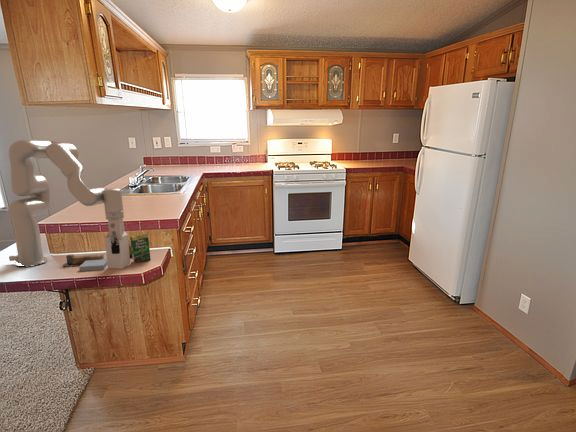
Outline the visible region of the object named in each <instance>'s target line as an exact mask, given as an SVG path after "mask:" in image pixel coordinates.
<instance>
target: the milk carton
mask: <svg viewBox="0 0 576 432" xmlns="http://www.w3.org/2000/svg"><path fill="white" fill-rule="evenodd" d="M115 235H116V234H115ZM114 239H117V237H115V238H114ZM128 240H129V234H128V233H127V232H126V231H125V232H124V234H123V236H122V240H120V239H118V245H119V250H120V253H119V254H112V250H111V240H110V237H109V233H108V234H107V235H106V236H105V237H104V244H105V253H106V259H107V269H116V270H117V269H120V270H121V269H124V268H126V267H127V266H129V265H130V264H131V258H130V255H129V243H128Z"/></svg>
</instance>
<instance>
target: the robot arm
mask: <svg viewBox="0 0 576 432" xmlns="http://www.w3.org/2000/svg"><path fill="white" fill-rule="evenodd" d="M79 155H80V153H79V150H78V148H77V146H75V145H74V144H72V143H69V142H61V141H54V140H49V139H47V140H45V139H19V140H16V141H14V142H13V143H11V145H10V146H9V148H8V159H9V163H10V185H11V187H10V188H11V191H12V192H13V194H14V195H16V196H17V197H23V198H18V199H15V200H13V201H12V202H10V203H9V205H8V208H7V211H8V215H9V217H10V220H11V222H12V225H13V230H14V231H13V232H14V239H15V245H16V251H17V255H9V257H8V260H9V261H10V262H14V261H15V263H16V262H18V263H21V264H22V265H24V266H30V265H36V266H39V265H38V264H40V265H43V264H44V263H45V264H46V263H47V262H48V260H49V259H48V258H47V257H45V256H44V253H43V252H44V251H43V246H42V245H43V244H42V237H41V232H40V226H39V223H38V222H37V220H36V217H40V216H42V215H43V216H44V215H46V214H47V213H48V212H49V210H50V205H51V201H50V198H51V195H50V193H51V192H50V190H51V189H50V184H49V181H48V179H47V178H46V177H45V176H43V175H41V174H35V167H34V164H33V162H32V159H33V160H35V159H49V160H50V162H51V163H53V164H54V166H55V167H56V168H57V169H58V170H59V171H60V172H61V174H63V175H64V176H65V179H66V184H67V188H68V191H69V192H70V194H71V195H72V196H73V197H74V198H75V199H76V200H77V202H79V203H80V204H82V205H83V206H85V207H93V206H97V205H101V204H104V205H103V206H104V213H105V214H104V215H105V220H107V222H108V223H107V224H108V225H107V226H108V234H109V237H110V240H111V250H112V254H119V253H120V250H119V245H118V239H120V240H122V236H123V234H124V232H126V230H125V224H124V218H125V214H124V206H123V205H124V203H123V195H122V194H123V193H122V190H121V189H120V188H118V187H117V188H116V187H113V188H111V187H110V188H107V187H93V188H88V186H87V185H86V184H85V183H84V182H83V180H82V179H81V175H82V174H83V173H84V170H85V167H84V165H82V163H81V162H80V161H79V160H78V158H79ZM27 196H28V197H27ZM29 196H30V197H29ZM115 234H116V235H115ZM115 237H117V239H114V238H115ZM42 263H43V264H42Z"/></svg>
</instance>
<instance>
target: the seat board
mask: <svg viewBox="0 0 576 432" xmlns="http://www.w3.org/2000/svg"><path fill="white" fill-rule="evenodd" d="M106 267H108V265H107V258H106V259H105V258H104V259H102V260H86V261H85V262H84V263H81V264H80V265H79V267H78V268H79V272H84V271H85V272H86V271H87V272H88V271H97V270H98V271H99V270H105V269H106Z"/></svg>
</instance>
